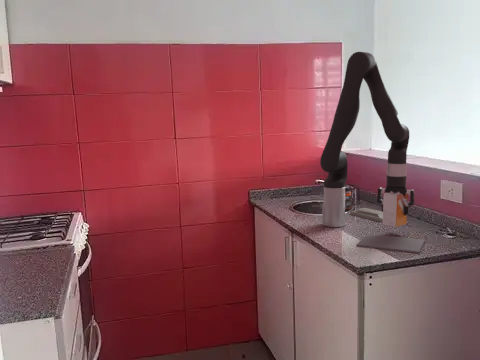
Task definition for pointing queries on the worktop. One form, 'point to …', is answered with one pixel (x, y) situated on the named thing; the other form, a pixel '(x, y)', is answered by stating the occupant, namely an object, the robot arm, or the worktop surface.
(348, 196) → the supplement bottle
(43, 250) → the worktop surface
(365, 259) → the worktop surface
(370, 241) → the mat
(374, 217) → the soap mold
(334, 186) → the robot arm
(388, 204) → the small box
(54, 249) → the worktop surface
